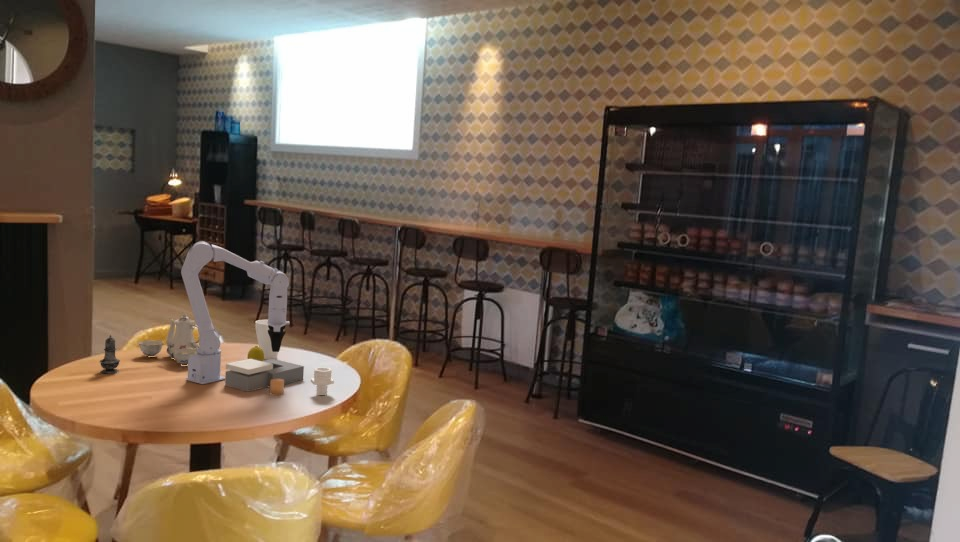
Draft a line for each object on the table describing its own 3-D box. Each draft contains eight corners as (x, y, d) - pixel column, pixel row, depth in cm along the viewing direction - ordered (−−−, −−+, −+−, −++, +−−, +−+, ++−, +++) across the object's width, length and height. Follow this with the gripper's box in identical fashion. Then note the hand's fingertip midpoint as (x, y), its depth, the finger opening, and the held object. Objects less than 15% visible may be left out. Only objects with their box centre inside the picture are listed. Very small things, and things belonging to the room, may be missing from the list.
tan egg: (276, 395, 215) (277, 382, 214) (267, 393, 217) (267, 380, 216) (286, 392, 218) (286, 380, 218) (276, 390, 220) (277, 377, 220)
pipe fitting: (337, 394, 221) (338, 369, 220) (320, 398, 215) (322, 373, 214) (322, 390, 224) (323, 365, 223) (305, 394, 218) (307, 369, 217)
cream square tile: (248, 374, 216) (248, 369, 216) (225, 368, 221) (226, 363, 221) (272, 369, 225) (273, 364, 225) (250, 363, 229) (250, 358, 229)
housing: (252, 392, 216) (253, 378, 215) (220, 384, 222) (221, 370, 222) (303, 379, 235) (303, 366, 234) (272, 371, 241) (272, 358, 241)
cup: (247, 358, 256) (249, 322, 255) (264, 353, 266) (266, 318, 265) (272, 362, 253) (274, 325, 252) (288, 357, 263) (290, 321, 262)
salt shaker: (123, 370, 229) (124, 334, 228) (112, 374, 223) (113, 337, 222) (106, 368, 230) (107, 332, 229) (95, 373, 224) (95, 335, 223)
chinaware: (128, 361, 247) (125, 315, 243) (166, 349, 262) (163, 305, 258) (189, 375, 236) (186, 327, 233) (225, 360, 251) (223, 315, 248)
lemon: (260, 371, 241) (261, 348, 240) (244, 369, 241) (245, 346, 240) (265, 367, 247) (266, 344, 246) (250, 366, 247) (251, 343, 246)
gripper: (290, 312, 226) (288, 354, 227) (289, 305, 240) (288, 344, 241) (267, 311, 224) (265, 353, 225) (268, 304, 238) (266, 343, 239)
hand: (275, 348), depth 233 cm, fingers open, 7 cm apart
